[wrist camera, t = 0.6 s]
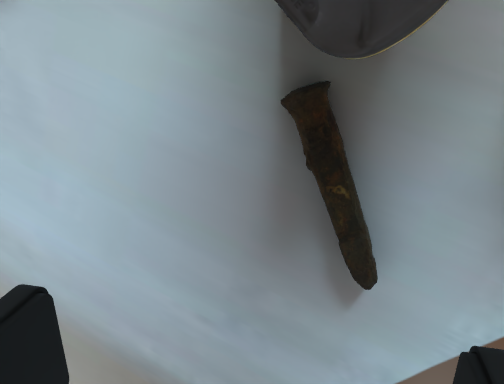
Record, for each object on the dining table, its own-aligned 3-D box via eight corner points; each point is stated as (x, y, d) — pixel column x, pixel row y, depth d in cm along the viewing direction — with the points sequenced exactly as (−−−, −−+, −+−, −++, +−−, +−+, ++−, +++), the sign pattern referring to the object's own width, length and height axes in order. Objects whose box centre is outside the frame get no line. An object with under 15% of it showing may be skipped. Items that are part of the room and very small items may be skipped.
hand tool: (283, 91, 35) (275, 98, 31) (329, 76, 34) (327, 82, 30) (340, 277, 40) (340, 306, 36) (381, 270, 39) (386, 299, 35)
